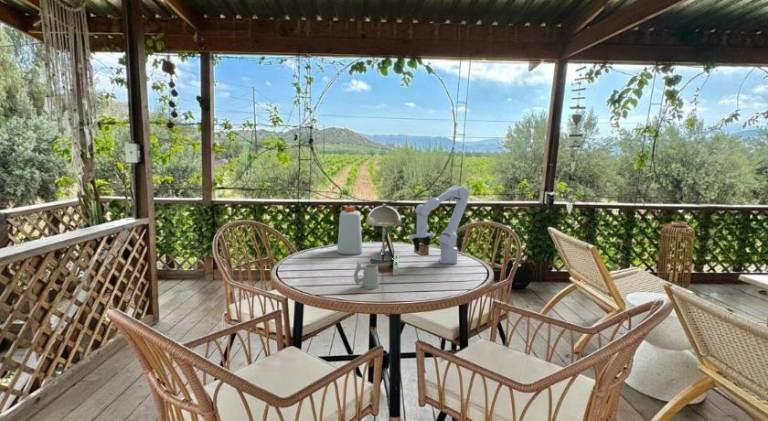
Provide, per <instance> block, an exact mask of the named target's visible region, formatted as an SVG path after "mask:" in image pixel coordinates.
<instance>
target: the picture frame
mask: <svg viewBox="0 0 768 421" xmlns="http://www.w3.org/2000/svg"><path fill="white" fill-rule="evenodd" d="M384 229H385V232H384V238H385V242H386V243H384V246H383V247H384V252H385V251H386V249H387V248H388V253H389V256H390V258H391V257H392V258H393V259H394V255H395V249H394V245H393V241H392V239H391V234H390V231H389V228H388V227H385V228H384ZM381 252H382V248H380V251H379V254H381Z"/></svg>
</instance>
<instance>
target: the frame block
mask: <svg viewBox="0 0 768 421" xmlns="http://www.w3.org/2000/svg"><path fill="white" fill-rule="evenodd" d="M429 252H430V246H429V245H428V246H427V245H425V244H424V243H422V242H420V243H419V251H418V252H417V251H416V250H415V246H414V245H413V253H414V254H416V255H418V256H420V257H425V256H426V257H427V256H429V254H430V253H429Z"/></svg>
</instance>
